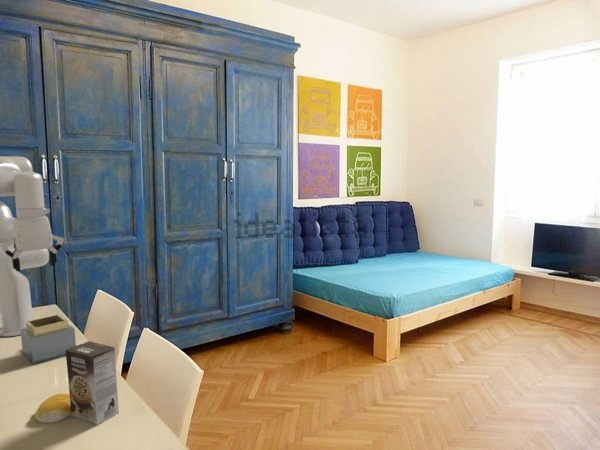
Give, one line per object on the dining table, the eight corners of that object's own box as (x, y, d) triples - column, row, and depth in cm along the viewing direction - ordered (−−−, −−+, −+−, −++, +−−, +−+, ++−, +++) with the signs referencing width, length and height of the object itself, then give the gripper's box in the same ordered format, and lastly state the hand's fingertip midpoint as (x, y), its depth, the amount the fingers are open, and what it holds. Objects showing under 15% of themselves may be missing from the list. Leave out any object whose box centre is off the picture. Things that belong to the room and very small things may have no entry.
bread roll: (80, 401, 111) (78, 386, 110) (70, 421, 102) (69, 404, 102) (43, 406, 109) (41, 390, 108) (30, 426, 100) (28, 409, 100)
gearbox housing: (19, 350, 144) (16, 318, 142) (60, 340, 152) (57, 310, 151) (33, 365, 132) (29, 330, 131) (76, 352, 141) (73, 320, 139)
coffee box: (70, 417, 103) (63, 349, 101) (94, 403, 109) (88, 339, 107) (96, 426, 99) (90, 356, 97) (120, 412, 105) (115, 346, 103)
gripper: (57, 210, 146) (61, 261, 149) (-6, 214, 134) (0, 270, 137) (65, 212, 141) (69, 265, 144) (0, 217, 129) (6, 275, 132)
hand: (35, 267), depth 140 cm, fingers open, 9 cm apart
